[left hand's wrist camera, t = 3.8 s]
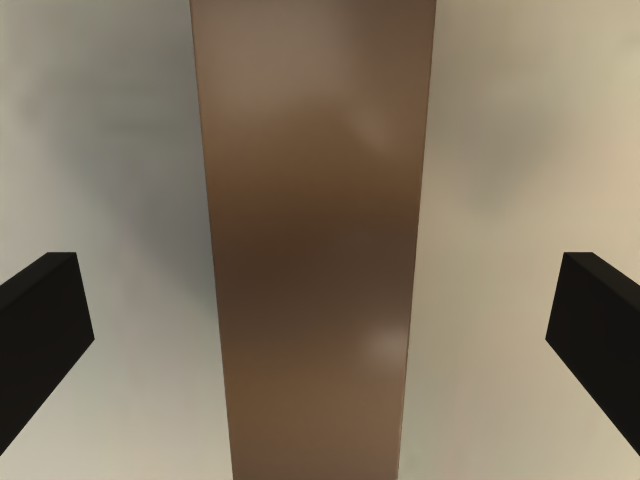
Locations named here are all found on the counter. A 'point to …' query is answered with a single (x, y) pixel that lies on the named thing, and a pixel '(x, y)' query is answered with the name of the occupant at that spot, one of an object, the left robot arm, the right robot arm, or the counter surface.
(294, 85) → the bar
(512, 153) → the counter surface
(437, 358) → the counter surface
